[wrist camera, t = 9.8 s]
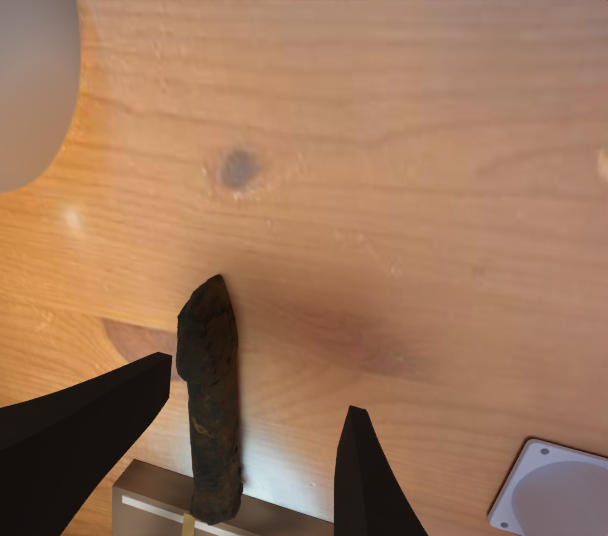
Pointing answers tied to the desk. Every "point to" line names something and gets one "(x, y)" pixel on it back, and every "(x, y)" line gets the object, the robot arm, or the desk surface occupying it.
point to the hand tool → (211, 400)
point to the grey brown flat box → (176, 506)
